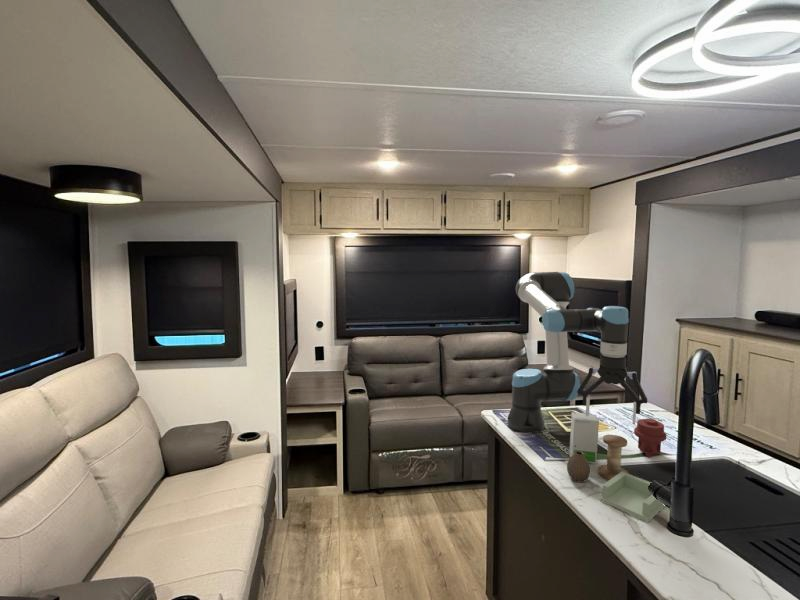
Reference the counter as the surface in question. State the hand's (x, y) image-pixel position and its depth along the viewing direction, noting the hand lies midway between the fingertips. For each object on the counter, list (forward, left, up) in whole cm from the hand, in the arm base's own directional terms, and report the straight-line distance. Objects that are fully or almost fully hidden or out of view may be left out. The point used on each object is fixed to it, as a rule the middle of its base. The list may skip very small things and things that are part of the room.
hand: (610, 419), depth 139 cm
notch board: (+13, -11, -18) cm, 25 cm away
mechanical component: (+3, +25, -19) cm, 31 cm away
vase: (-4, -11, -19) cm, 22 cm away
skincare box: (-10, +3, -19) cm, 21 cm away
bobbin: (+2, 0, -18) cm, 18 cm away
